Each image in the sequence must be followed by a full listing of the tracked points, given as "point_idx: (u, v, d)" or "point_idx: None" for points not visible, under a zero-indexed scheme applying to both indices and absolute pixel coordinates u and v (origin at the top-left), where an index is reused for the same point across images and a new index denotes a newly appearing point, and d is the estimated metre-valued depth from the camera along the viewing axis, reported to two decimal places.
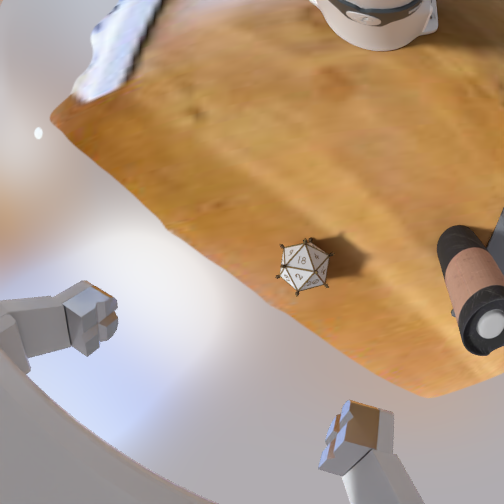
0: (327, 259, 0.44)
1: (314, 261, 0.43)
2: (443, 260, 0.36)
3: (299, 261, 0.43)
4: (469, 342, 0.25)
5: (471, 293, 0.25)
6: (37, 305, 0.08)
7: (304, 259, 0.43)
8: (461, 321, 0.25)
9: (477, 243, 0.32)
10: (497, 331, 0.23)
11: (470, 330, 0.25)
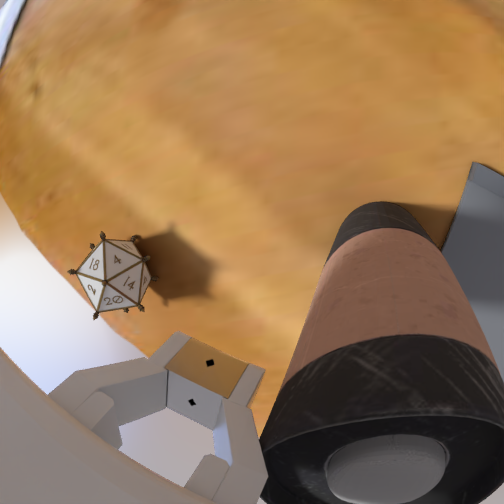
0: (138, 265, 0.27)
1: (110, 266, 0.26)
2: None
3: (91, 265, 0.26)
4: (310, 499, 0.08)
5: (305, 360, 0.08)
6: (132, 373, 0.07)
7: (97, 263, 0.26)
8: None
9: (402, 222, 0.15)
10: (407, 496, 0.05)
11: (301, 477, 0.07)
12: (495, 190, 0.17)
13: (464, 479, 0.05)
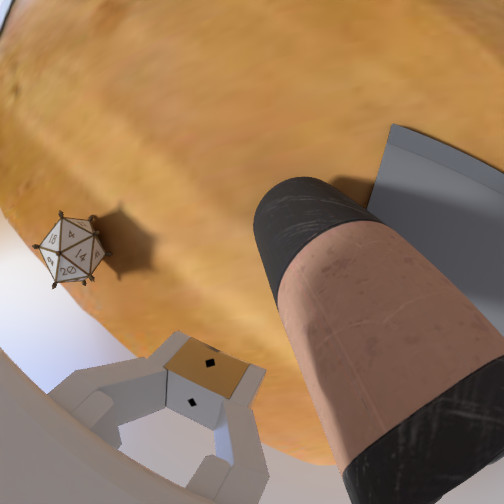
0: (89, 240, 0.29)
1: (65, 240, 0.27)
2: (267, 267, 0.17)
3: (50, 240, 0.27)
4: None
5: (384, 423, 0.07)
6: (132, 372, 0.07)
7: (55, 237, 0.27)
8: (355, 503, 0.06)
9: (351, 209, 0.15)
10: None
11: None
12: (417, 150, 0.19)
13: None
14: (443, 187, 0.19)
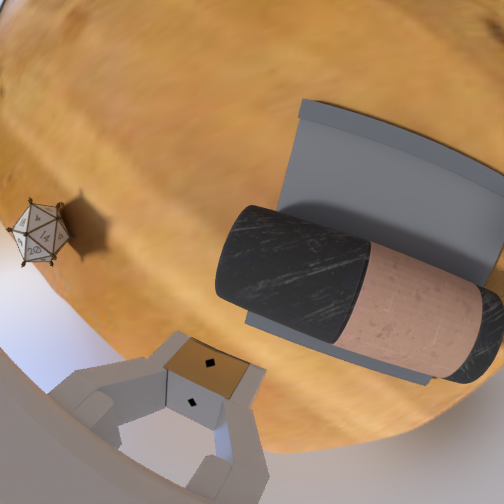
0: (53, 223, 0.30)
1: (32, 222, 0.29)
2: (297, 330, 0.20)
3: (21, 223, 0.29)
4: None
5: (453, 369, 0.16)
6: (132, 372, 0.07)
7: (24, 221, 0.29)
8: (450, 380, 0.18)
9: (340, 268, 0.18)
10: None
11: None
12: (328, 122, 0.20)
13: None
14: (362, 158, 0.21)
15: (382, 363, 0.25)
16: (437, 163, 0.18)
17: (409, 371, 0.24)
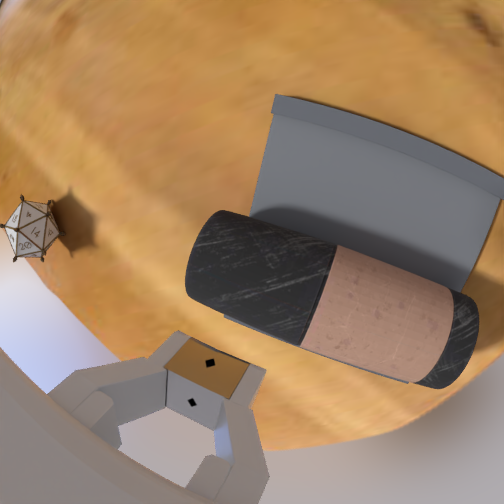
0: (43, 219, 0.30)
1: (23, 218, 0.29)
2: None
3: (12, 219, 0.29)
4: None
5: (417, 379, 0.17)
6: (132, 372, 0.07)
7: (16, 217, 0.29)
8: None
9: (297, 284, 0.18)
10: None
11: None
12: (300, 116, 0.20)
13: None
14: (335, 151, 0.21)
15: None
16: (412, 155, 0.19)
17: None
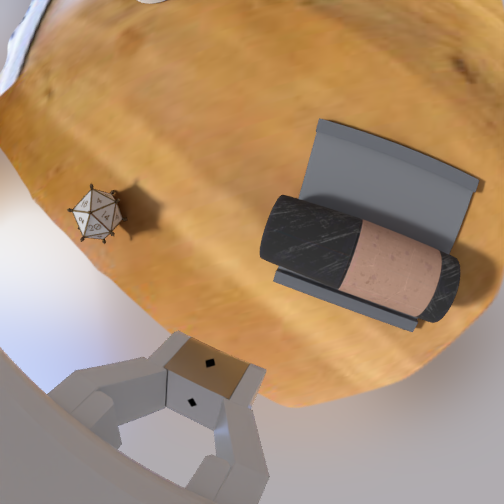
0: (112, 205, 0.40)
1: (94, 204, 0.38)
2: (314, 279, 0.31)
3: (82, 205, 0.39)
4: None
5: (421, 309, 0.26)
6: (132, 372, 0.07)
7: (86, 202, 0.39)
8: (423, 319, 0.29)
9: (341, 238, 0.28)
10: None
11: None
12: (336, 135, 0.30)
13: None
14: (359, 159, 0.31)
15: (377, 311, 0.35)
16: (410, 162, 0.28)
17: (398, 318, 0.34)
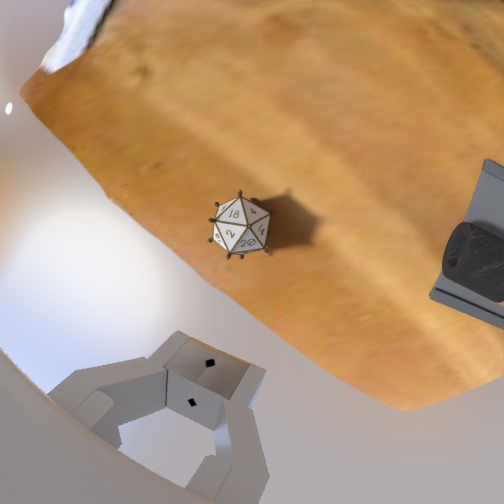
0: (267, 217, 0.38)
1: (249, 215, 0.36)
2: (487, 295, 0.28)
3: (231, 215, 0.36)
4: None
5: None
6: (132, 372, 0.07)
7: (237, 213, 0.36)
8: None
9: None
10: None
11: None
12: (498, 176, 0.28)
13: None
14: None
15: (501, 321, 0.33)
16: None
17: None
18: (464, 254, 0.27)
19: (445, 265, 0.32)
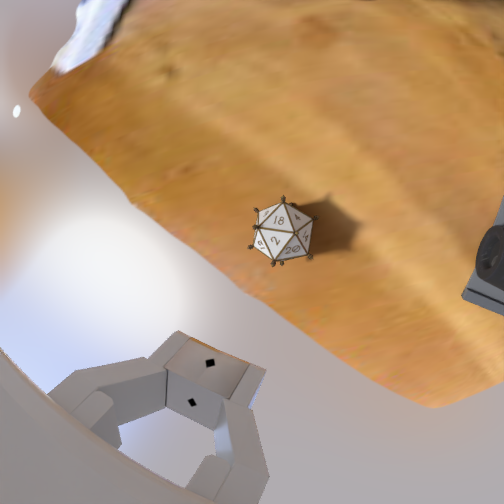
0: (310, 223, 0.37)
1: (294, 221, 0.35)
2: None
3: (276, 221, 0.35)
4: None
5: None
6: (132, 372, 0.07)
7: (282, 219, 0.35)
8: None
9: None
10: None
11: None
12: None
13: None
14: None
15: None
16: None
17: None
18: (499, 257, 0.26)
19: (479, 266, 0.31)
